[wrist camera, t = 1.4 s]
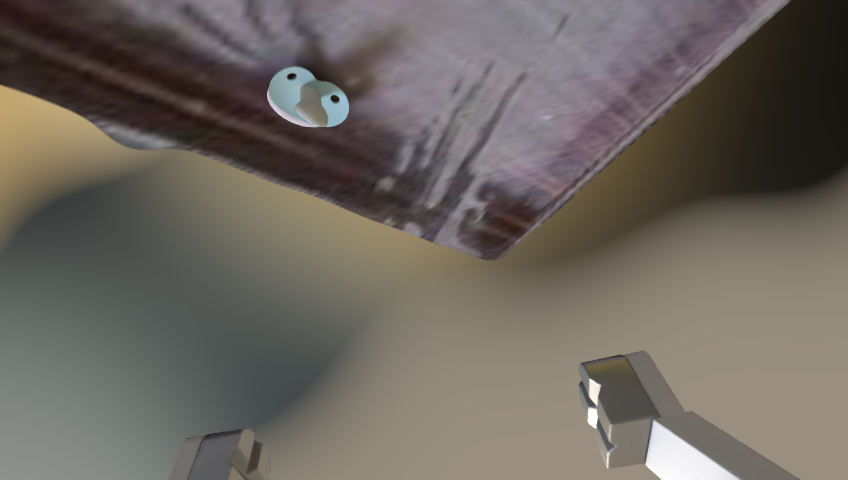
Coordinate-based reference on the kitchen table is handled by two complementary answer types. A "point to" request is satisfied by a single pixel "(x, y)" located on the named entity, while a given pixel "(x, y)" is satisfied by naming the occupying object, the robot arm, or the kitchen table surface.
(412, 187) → the kitchen table surface
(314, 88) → the pacifier
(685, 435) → the robot arm
